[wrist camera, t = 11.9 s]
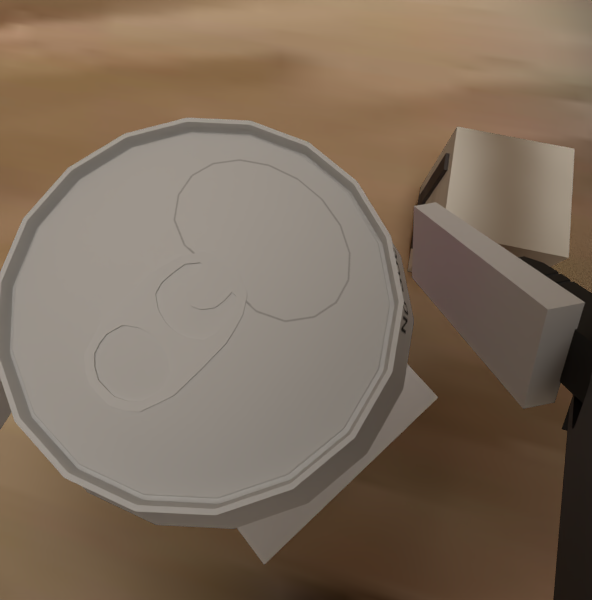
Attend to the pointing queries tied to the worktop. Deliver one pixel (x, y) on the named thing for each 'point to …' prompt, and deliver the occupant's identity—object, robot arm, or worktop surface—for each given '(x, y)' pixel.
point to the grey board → (285, 525)
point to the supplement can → (204, 323)
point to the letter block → (506, 191)
